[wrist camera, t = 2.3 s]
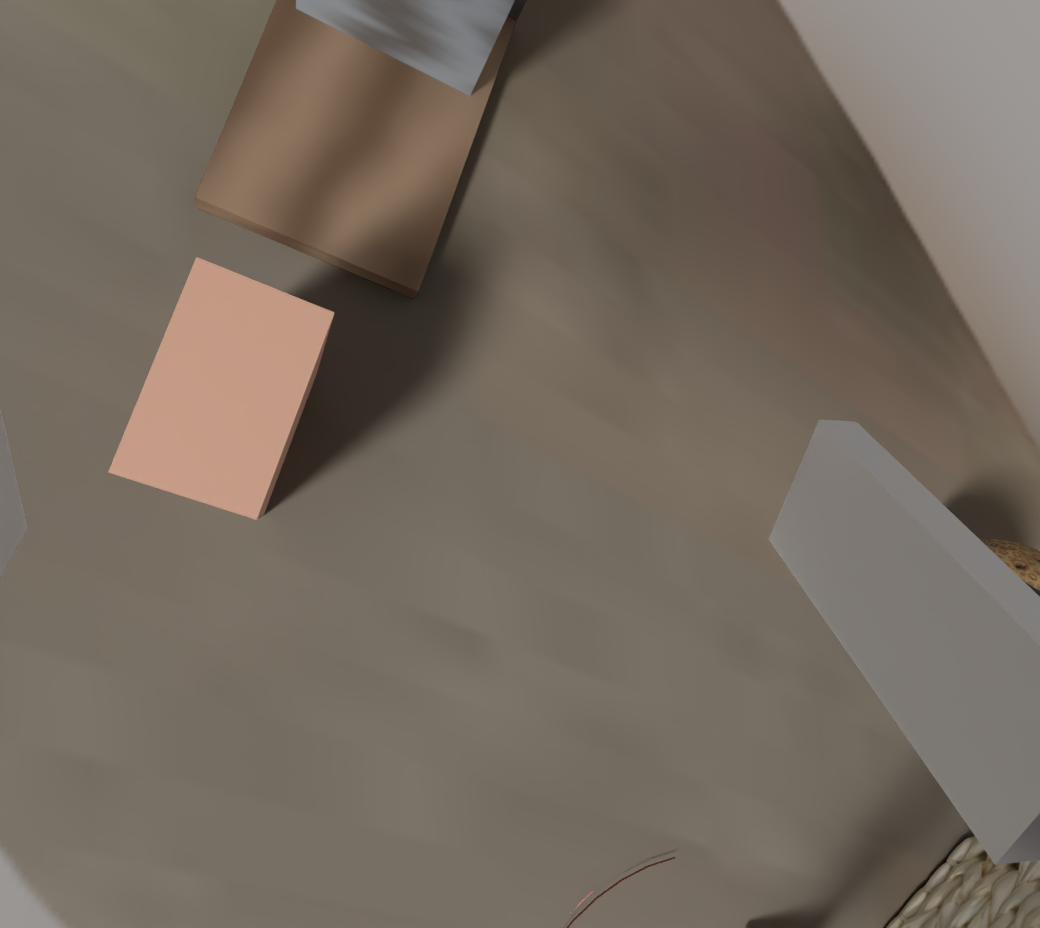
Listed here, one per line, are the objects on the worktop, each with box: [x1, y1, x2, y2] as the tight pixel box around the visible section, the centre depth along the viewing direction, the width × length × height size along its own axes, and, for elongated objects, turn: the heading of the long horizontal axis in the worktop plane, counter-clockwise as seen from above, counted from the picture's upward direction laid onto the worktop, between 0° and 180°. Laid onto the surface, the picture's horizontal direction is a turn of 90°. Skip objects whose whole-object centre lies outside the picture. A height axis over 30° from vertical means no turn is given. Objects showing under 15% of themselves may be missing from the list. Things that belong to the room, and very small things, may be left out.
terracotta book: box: [109, 257, 334, 520], centre depth 34 cm, size 5×8×14 cm, turn 161°
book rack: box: [195, 0, 526, 299], centre depth 35 cm, size 12×18×16 cm, turn 161°
